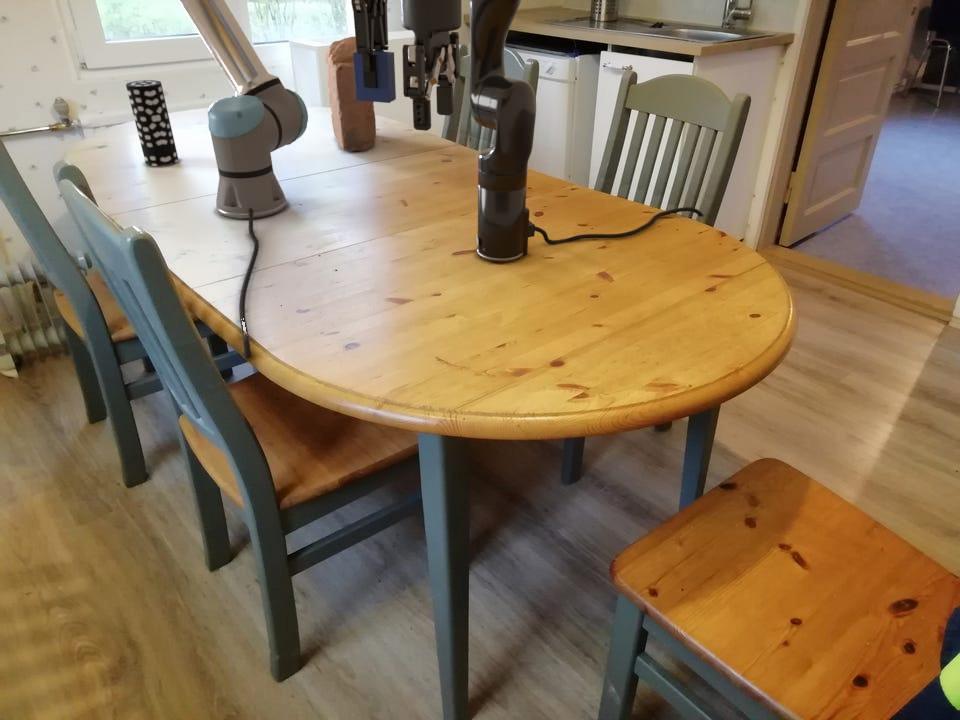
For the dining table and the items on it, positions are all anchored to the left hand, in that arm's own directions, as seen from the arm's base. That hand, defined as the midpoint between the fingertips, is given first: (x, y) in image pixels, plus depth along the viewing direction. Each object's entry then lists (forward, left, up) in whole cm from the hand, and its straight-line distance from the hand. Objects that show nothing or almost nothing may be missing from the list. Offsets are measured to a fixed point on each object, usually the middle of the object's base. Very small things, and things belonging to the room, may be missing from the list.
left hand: (374, 85), depth 148 cm
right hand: (-61, +15, +7) cm, 63 cm away
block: (0, 0, -3) cm, 3 cm away
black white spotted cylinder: (+56, +41, -16) cm, 72 cm away
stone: (+52, -12, -26) cm, 59 cm away
